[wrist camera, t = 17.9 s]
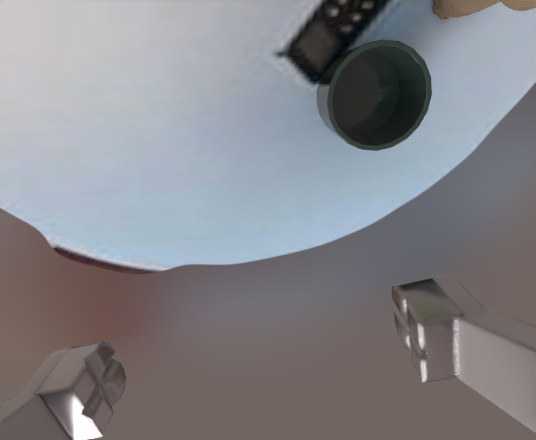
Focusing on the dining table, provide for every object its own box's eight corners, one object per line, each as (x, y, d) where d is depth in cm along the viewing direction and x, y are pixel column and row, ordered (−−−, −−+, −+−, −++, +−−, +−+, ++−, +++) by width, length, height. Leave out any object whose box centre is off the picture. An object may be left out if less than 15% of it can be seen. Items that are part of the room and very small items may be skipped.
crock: (309, 60, 40) (319, 55, 33) (398, 37, 39) (429, 27, 32) (324, 147, 44) (336, 160, 37) (405, 128, 43) (433, 137, 36)
